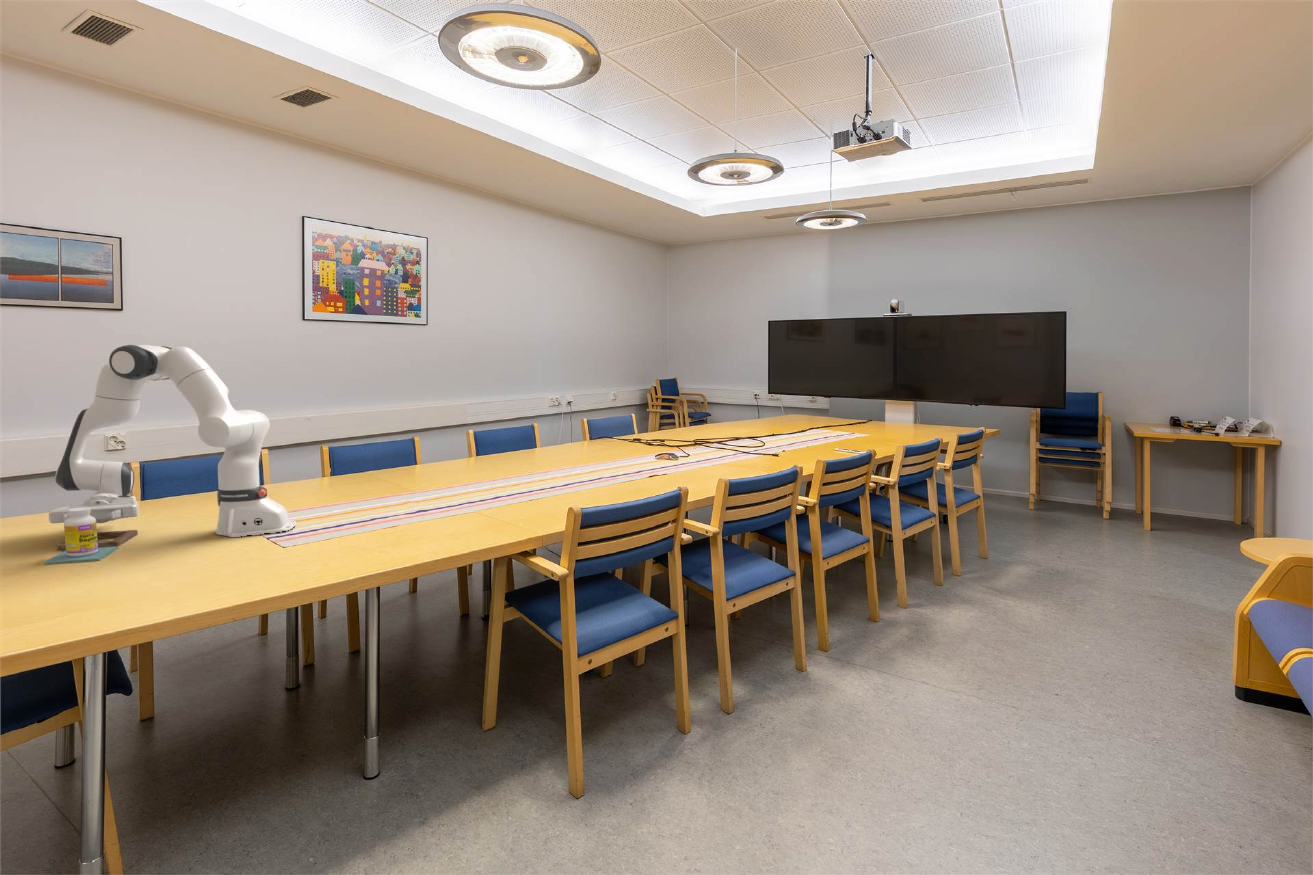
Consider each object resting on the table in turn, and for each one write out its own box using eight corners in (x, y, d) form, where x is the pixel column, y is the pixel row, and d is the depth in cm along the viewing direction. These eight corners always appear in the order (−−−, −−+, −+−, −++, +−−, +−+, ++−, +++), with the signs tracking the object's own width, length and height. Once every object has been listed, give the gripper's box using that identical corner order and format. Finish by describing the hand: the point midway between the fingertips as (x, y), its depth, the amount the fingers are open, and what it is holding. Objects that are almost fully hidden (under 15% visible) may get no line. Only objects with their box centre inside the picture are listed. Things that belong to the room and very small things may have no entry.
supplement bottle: (79, 558, 174) (75, 512, 172) (60, 556, 175) (55, 510, 174) (104, 551, 180) (101, 507, 179) (86, 549, 182) (82, 505, 180)
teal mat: (118, 548, 185) (118, 546, 185) (98, 560, 174) (98, 558, 174) (67, 551, 181) (66, 549, 181) (43, 564, 170) (43, 562, 170)
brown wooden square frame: (137, 534, 200) (137, 529, 200) (117, 546, 187) (117, 541, 187) (82, 537, 195) (81, 533, 195) (57, 550, 182) (57, 545, 182)
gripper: (55, 501, 191) (40, 510, 180) (141, 495, 202) (132, 504, 190) (57, 521, 192) (42, 532, 180) (142, 514, 202) (133, 524, 190)
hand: (89, 518), depth 185 cm, fingers open, 8 cm apart
